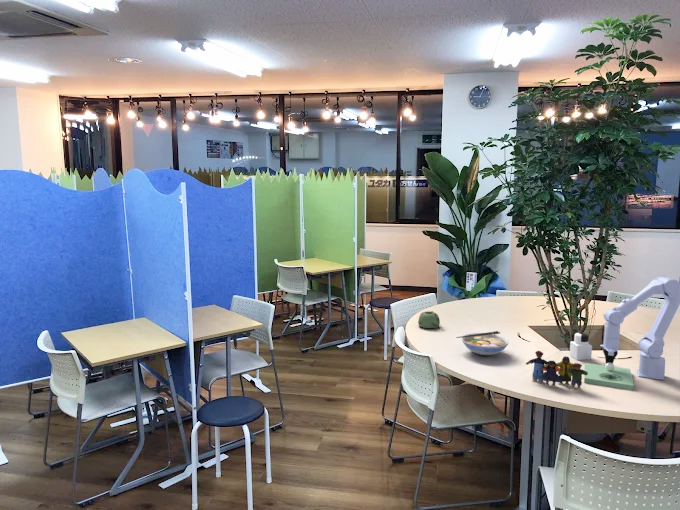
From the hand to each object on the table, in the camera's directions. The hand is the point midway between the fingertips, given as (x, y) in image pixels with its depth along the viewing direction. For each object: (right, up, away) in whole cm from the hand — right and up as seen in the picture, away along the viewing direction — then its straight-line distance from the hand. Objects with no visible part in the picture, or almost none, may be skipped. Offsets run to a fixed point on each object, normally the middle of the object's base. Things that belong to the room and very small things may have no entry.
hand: (608, 366), depth 215 cm
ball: (0, 0, -1) cm, 1 cm away
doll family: (-28, -5, -10) cm, 31 cm away
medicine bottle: (-2, -1, +21) cm, 21 cm away
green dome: (-65, +6, +77) cm, 102 cm away
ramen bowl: (-47, 0, +28) cm, 55 cm away
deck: (-3, -4, -4) cm, 7 cm away
